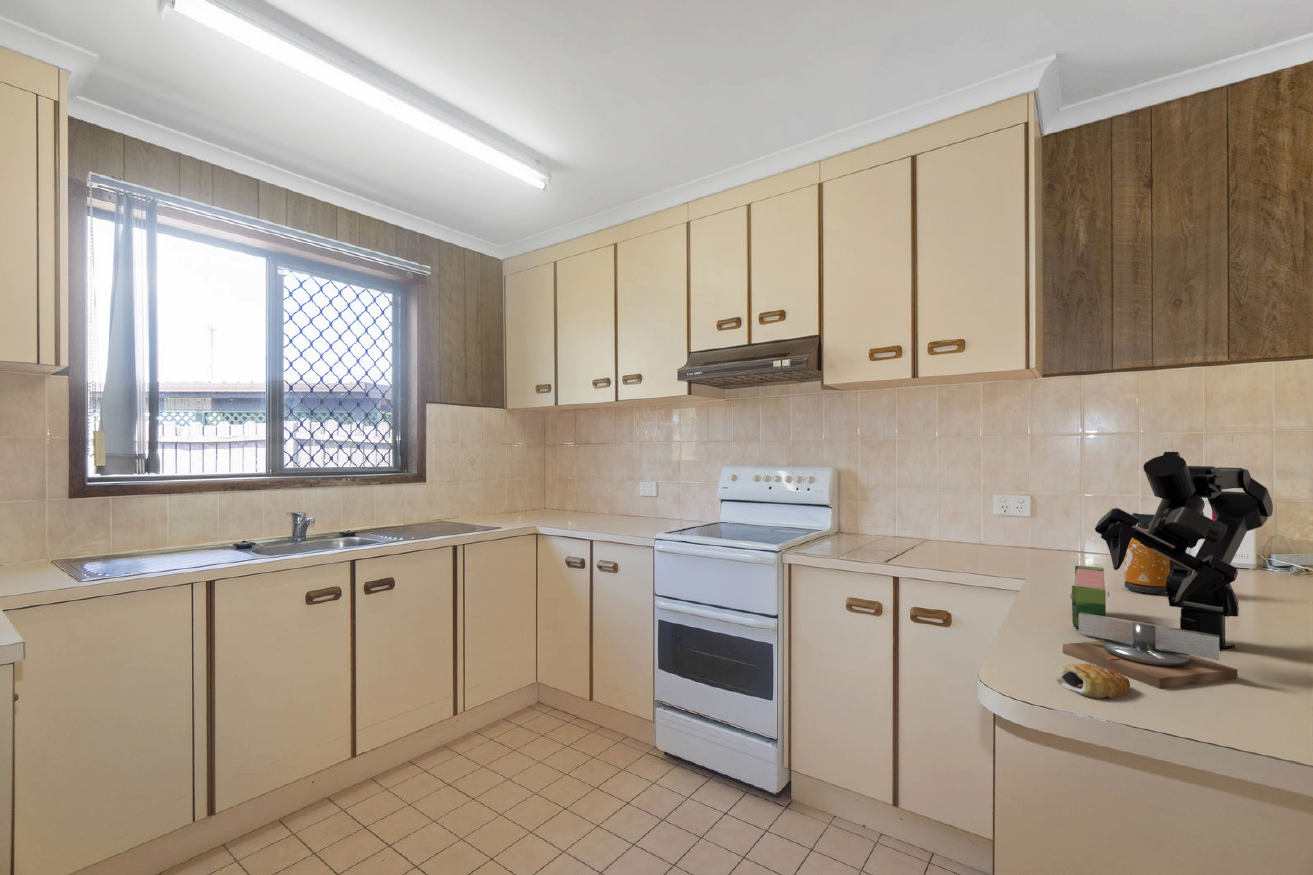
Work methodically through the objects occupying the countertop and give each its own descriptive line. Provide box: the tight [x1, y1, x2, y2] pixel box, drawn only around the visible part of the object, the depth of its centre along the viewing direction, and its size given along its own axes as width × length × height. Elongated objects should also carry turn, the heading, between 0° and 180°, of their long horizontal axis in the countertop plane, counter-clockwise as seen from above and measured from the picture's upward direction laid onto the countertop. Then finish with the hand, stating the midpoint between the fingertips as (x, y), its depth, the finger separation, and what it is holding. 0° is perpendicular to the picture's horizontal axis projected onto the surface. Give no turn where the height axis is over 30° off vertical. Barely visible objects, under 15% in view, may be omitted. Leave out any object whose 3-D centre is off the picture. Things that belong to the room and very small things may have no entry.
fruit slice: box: [1070, 565, 1110, 629], centre depth 122 cm, size 26×6×10 cm, turn 144°
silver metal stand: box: [1078, 612, 1221, 666], centre depth 99 cm, size 11×16×5 cm
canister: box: [1123, 512, 1176, 596], centre depth 150 cm, size 9×11×20 cm
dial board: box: [1062, 639, 1239, 689], centre depth 99 cm, size 16×16×2 cm
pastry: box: [1055, 663, 1131, 699], centre depth 89 cm, size 9×7×4 cm
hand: (1146, 585), depth 99 cm, fingers open, 9 cm apart
